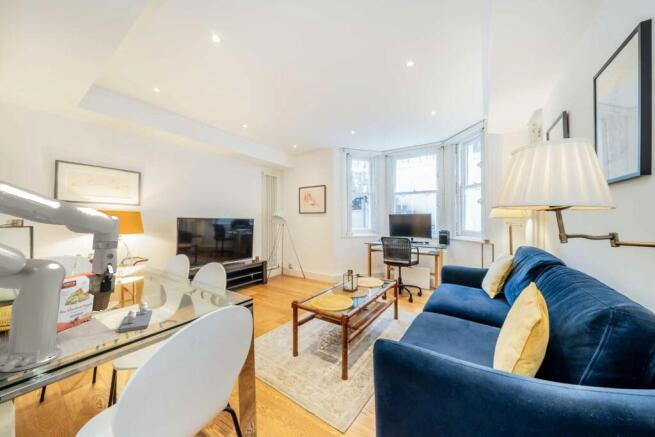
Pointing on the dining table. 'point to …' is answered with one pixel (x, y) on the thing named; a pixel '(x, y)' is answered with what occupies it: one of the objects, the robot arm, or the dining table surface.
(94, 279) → the sleeve
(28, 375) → the dining table surface
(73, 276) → the cracker box
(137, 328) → the pin board
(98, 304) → the flowerpot
